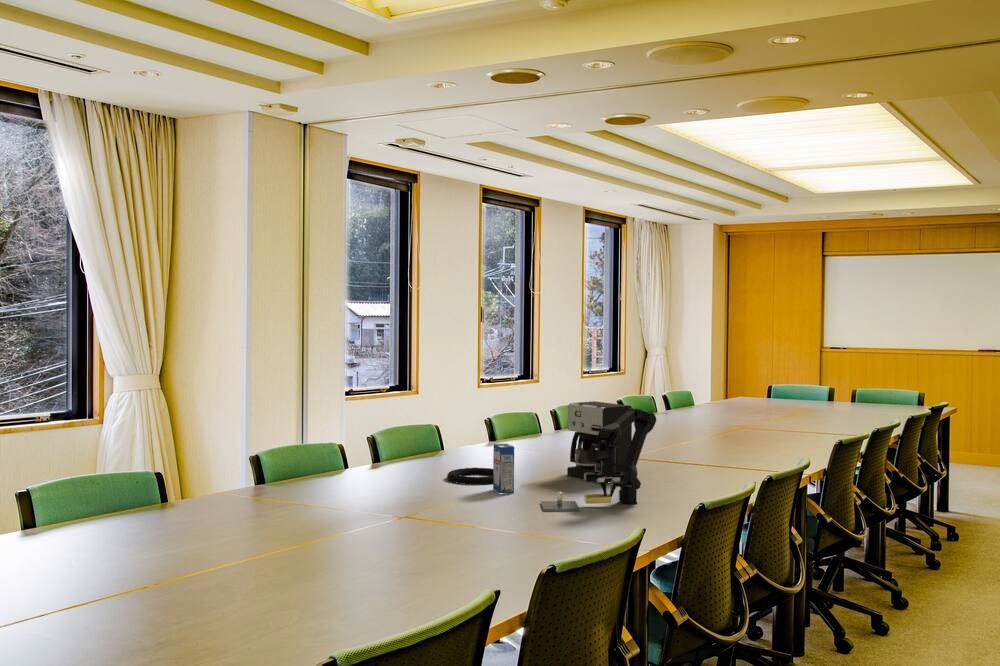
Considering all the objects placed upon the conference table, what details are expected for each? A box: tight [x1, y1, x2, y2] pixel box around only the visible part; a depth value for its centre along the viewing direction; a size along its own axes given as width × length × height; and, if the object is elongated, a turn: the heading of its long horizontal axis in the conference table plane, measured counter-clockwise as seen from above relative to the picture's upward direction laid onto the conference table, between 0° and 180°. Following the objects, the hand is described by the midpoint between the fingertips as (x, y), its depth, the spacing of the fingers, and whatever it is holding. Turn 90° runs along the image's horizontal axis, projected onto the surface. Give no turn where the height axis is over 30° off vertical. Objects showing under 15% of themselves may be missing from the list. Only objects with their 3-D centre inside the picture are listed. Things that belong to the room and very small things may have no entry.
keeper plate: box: [540, 491, 581, 512], centre depth 341 cm, size 14×14×6 cm
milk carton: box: [492, 443, 515, 494], centre depth 371 cm, size 10×6×20 cm, turn 18°
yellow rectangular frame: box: [583, 493, 612, 505], centre depth 342 cm, size 10×6×2 cm, turn 92°
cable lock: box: [446, 467, 493, 485], centre depth 399 cm, size 28×4×30 cm
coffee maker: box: [566, 400, 633, 484], centre depth 406 cm, size 28×20×35 cm
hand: (608, 498), depth 342 cm, fingers closed on yellow rectangular frame, 1 cm apart
